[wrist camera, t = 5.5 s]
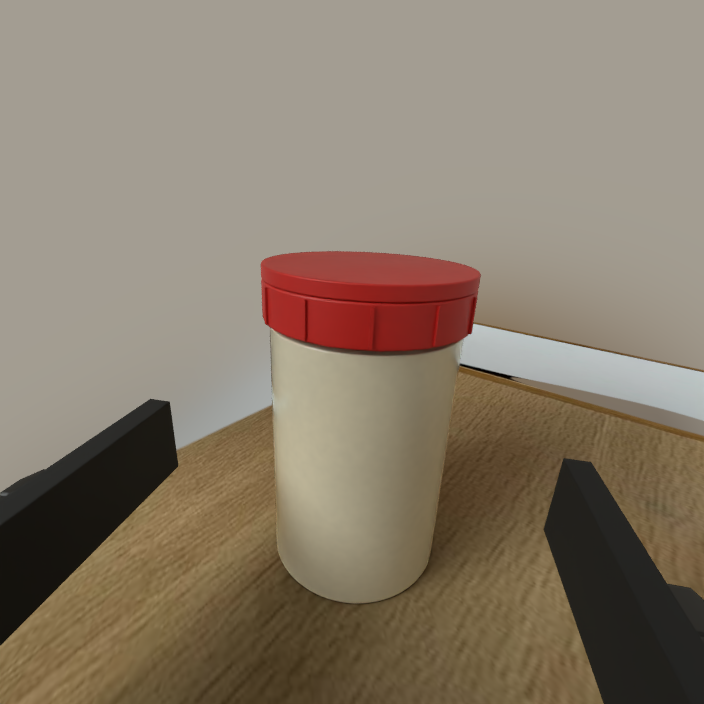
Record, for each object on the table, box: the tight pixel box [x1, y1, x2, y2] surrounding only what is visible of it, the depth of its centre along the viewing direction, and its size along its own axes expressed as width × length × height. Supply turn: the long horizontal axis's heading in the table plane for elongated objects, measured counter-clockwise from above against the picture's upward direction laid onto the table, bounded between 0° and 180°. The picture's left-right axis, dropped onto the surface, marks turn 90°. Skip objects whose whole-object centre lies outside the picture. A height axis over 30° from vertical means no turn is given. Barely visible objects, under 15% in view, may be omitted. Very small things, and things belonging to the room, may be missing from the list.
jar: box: [270, 327, 464, 603], centre depth 16 cm, size 7×7×12 cm
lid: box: [261, 251, 481, 352], centre depth 14 cm, size 8×8×2 cm
